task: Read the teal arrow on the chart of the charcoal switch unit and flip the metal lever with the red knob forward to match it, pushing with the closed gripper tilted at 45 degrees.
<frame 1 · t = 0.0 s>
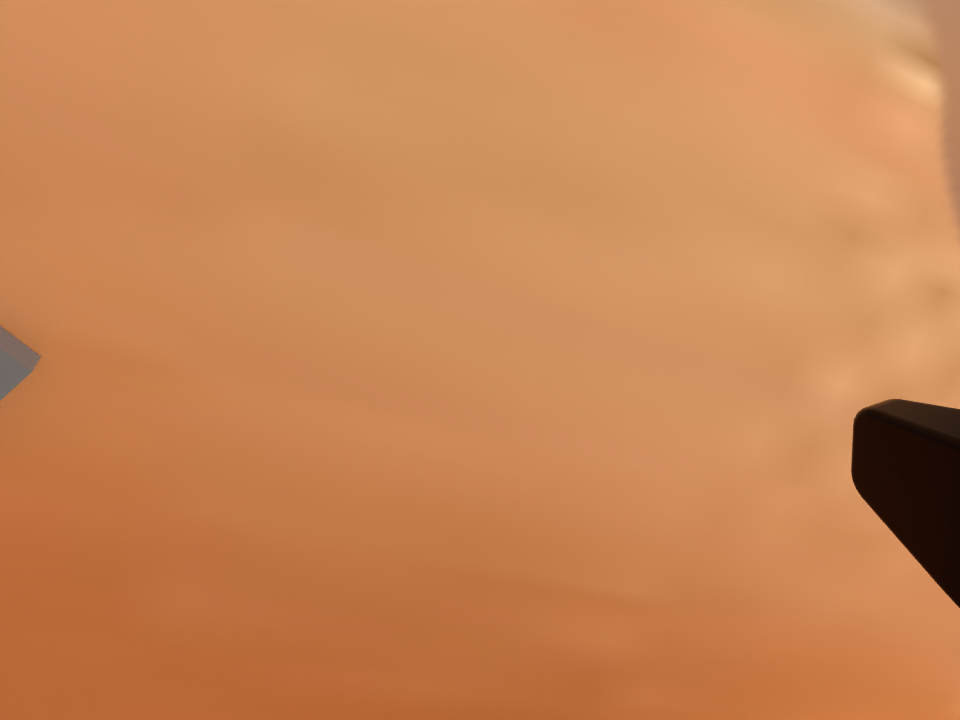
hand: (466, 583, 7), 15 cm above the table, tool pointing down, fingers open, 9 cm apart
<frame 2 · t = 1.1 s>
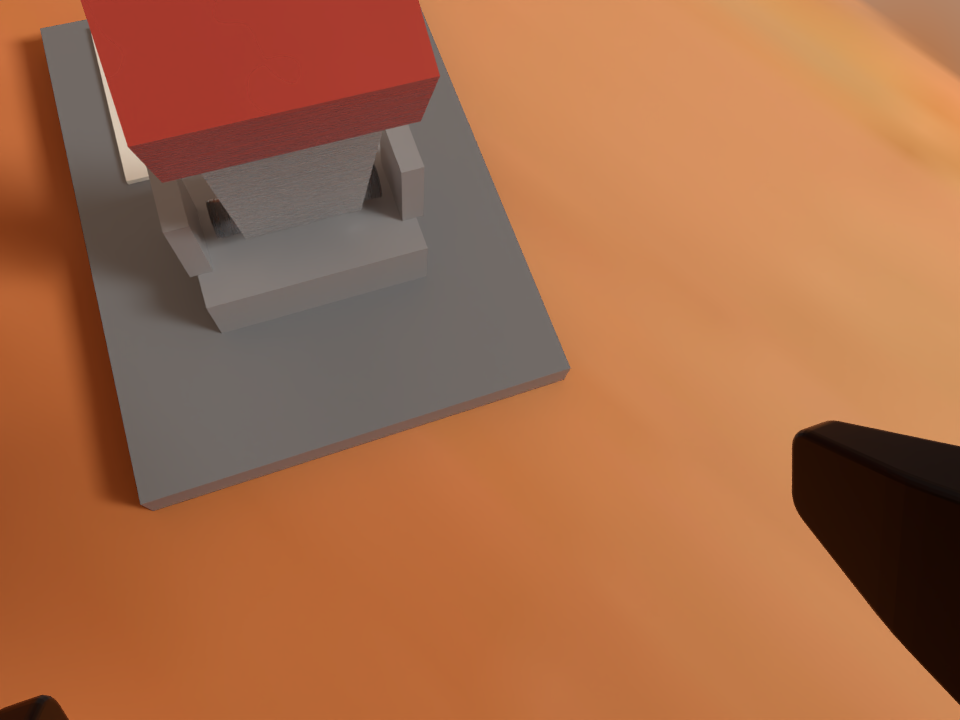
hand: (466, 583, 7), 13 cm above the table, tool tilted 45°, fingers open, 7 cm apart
lever: (287, 148, 15), point 8 cm above the table, hinge at -22.0°
switch unit: (312, 260, 23), on the table
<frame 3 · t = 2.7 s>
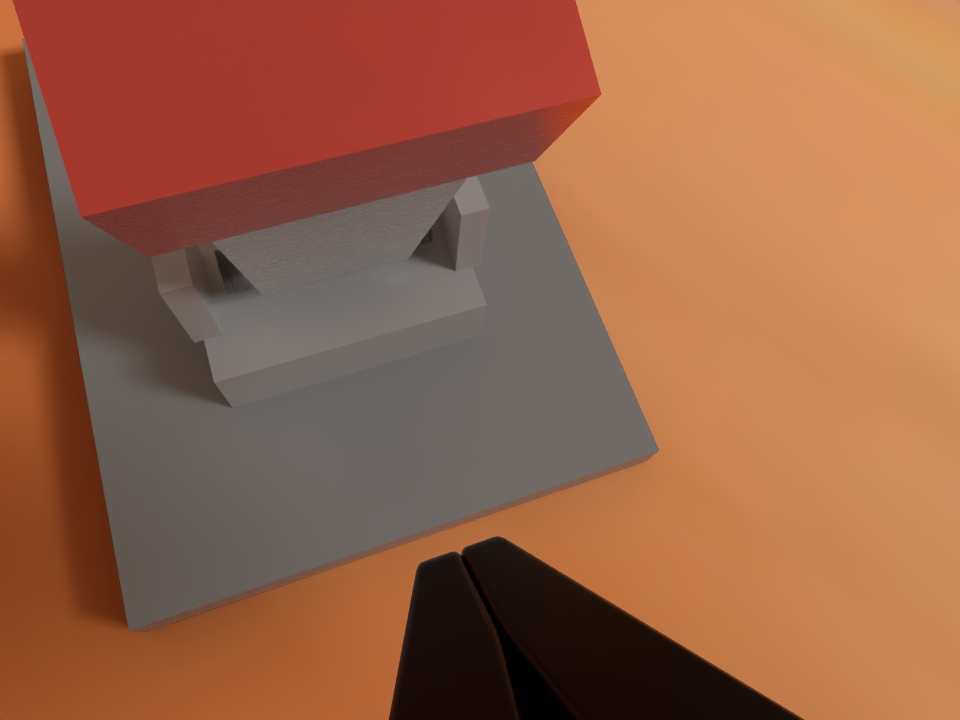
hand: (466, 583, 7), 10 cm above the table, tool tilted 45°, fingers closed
lever: (324, 190, 11), point 8 cm above the table, hinge at -22.0°
switch unit: (341, 314, 19), on the table
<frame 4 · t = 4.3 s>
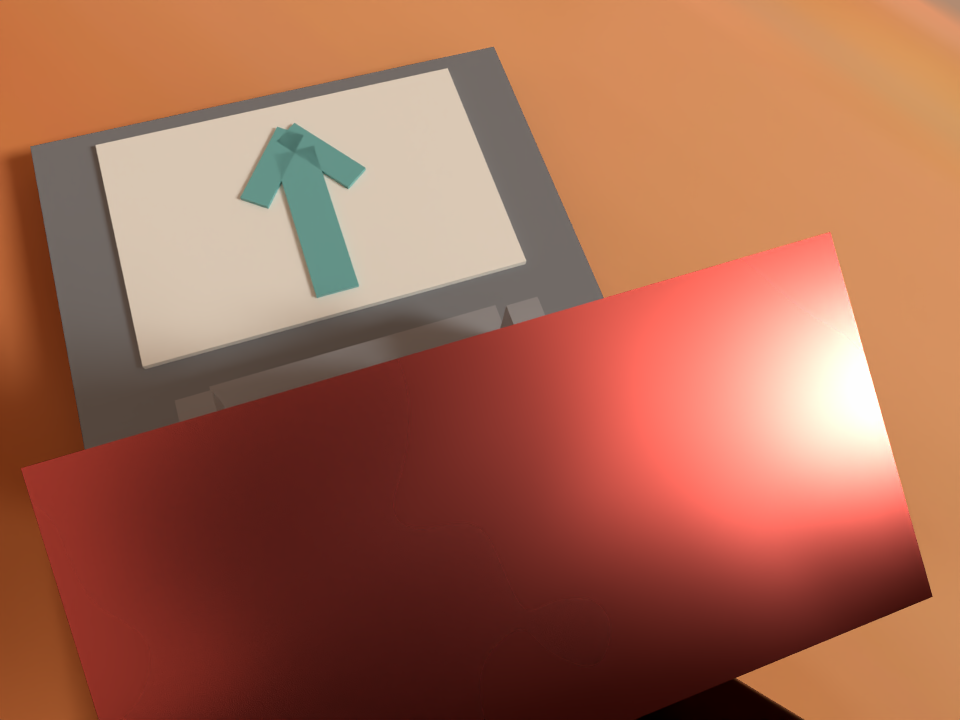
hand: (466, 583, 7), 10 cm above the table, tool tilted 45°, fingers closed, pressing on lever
lever: (411, 445, 9), point 8 cm above the table, hinge at -19.6°, touching gripper
switch unit: (390, 465, 17), on the table
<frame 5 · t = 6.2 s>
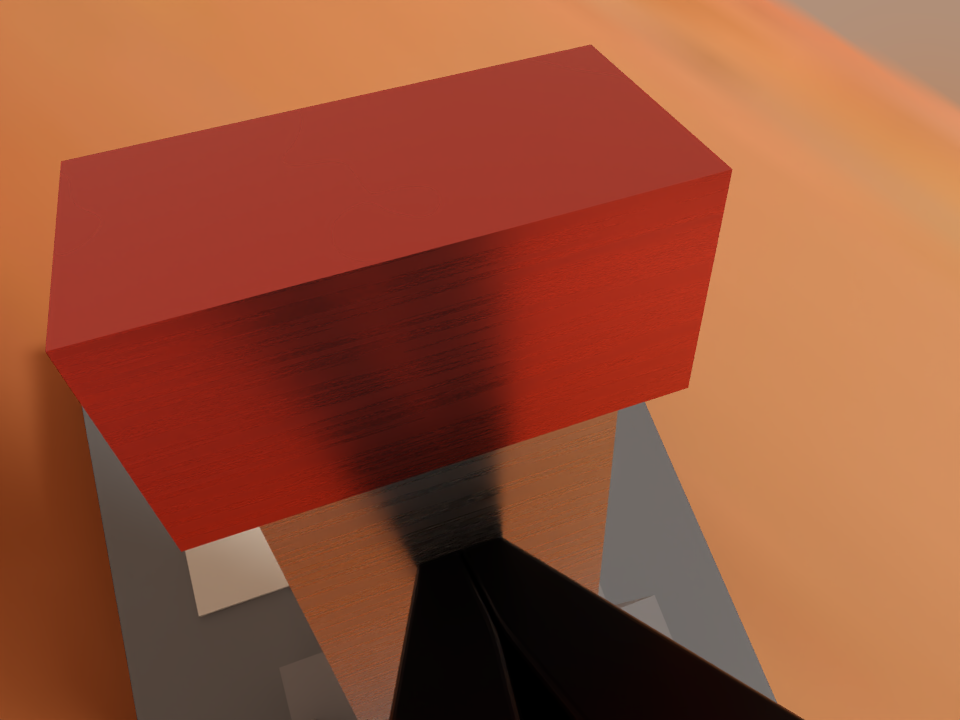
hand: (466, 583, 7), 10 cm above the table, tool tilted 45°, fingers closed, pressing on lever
lever: (452, 579, 9), point 8 cm above the table, hinge at 24.2°, touching gripper
switch unit: (466, 711, 16), on the table
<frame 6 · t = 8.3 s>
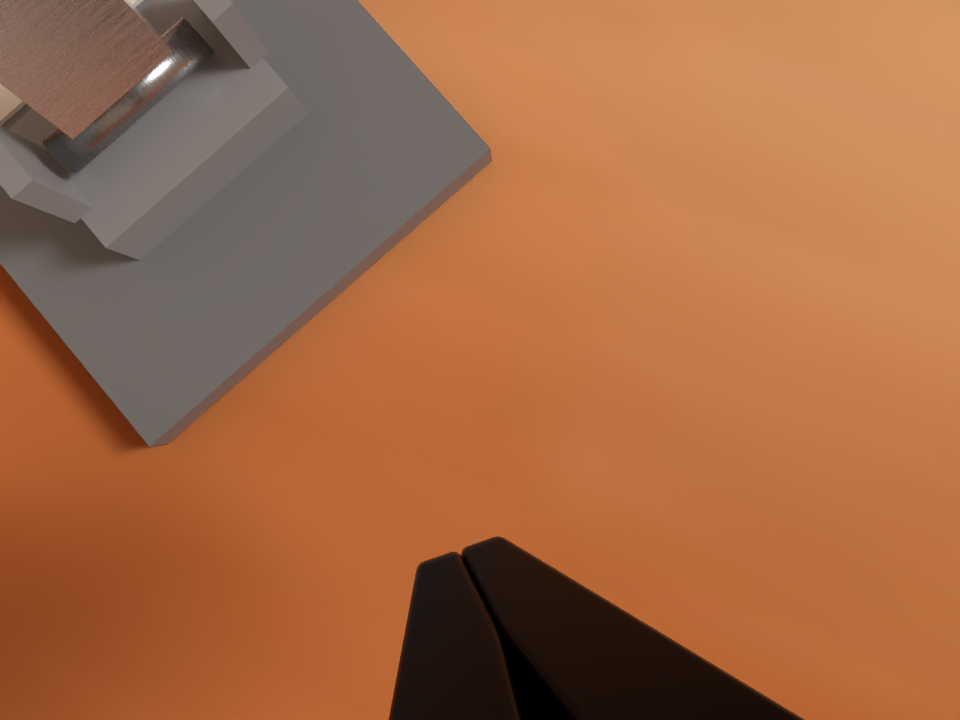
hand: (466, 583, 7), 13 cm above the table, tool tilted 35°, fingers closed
switch unit: (194, 145, 21), on the table
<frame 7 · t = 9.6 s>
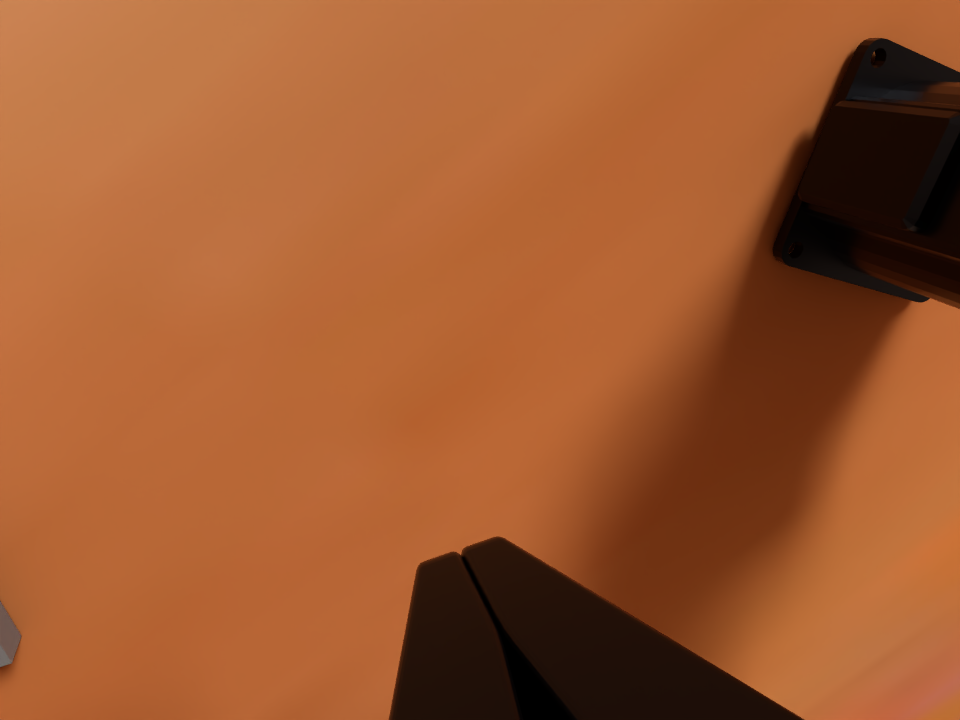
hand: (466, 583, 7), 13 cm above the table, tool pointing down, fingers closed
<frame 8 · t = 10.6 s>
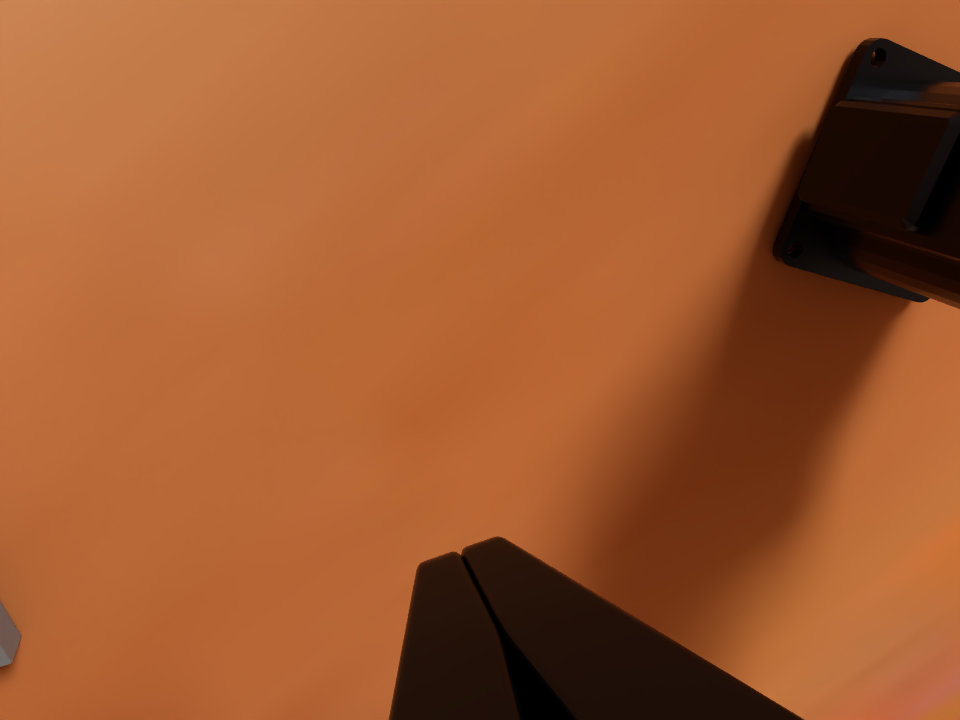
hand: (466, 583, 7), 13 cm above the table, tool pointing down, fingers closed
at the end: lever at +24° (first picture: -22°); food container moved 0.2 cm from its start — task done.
